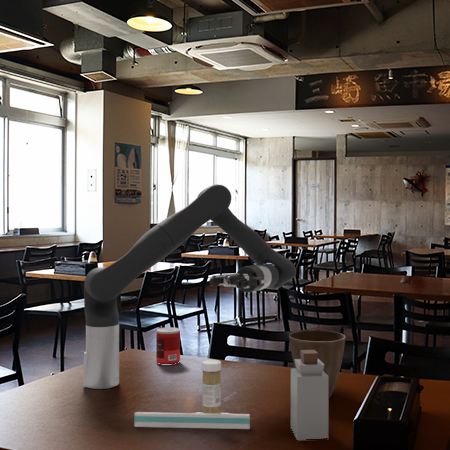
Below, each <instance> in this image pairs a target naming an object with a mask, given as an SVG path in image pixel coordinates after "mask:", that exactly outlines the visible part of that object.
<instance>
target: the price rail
mask: <svg viewBox="0 0 450 450" xmlns="http://www.w3.org/2000/svg"><path fill="white" fill-rule="evenodd" d="M250 416H251V414H250V413H230V412H221V414H220V413H203V411H202V412H200V411H199V412H161V411H160V412H159V411H158V412H156V411H153V412H152V411H150V412H149V411H135V412H134V421H133V422H134V427H135V428H137V427H138V428H172V429H173V428H179V429H182V428H183V429H184V428H185V429H188V428H189V429H228V430H229V429H232V430H233V429H237V430H250V429H251V425H250V423H251V422H250V421H251V420H250V419H251V418H250Z"/></svg>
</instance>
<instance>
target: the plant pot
mask: <svg viewBox="0 0 450 450" xmlns="http://www.w3.org/2000/svg"><path fill="white" fill-rule="evenodd" d="M288 338H289V345H290V351H291V352H290V353H291V357H292V360H293V365H294V368H296V364H295V360H294V359H301V354H300V350H315V351H316V352H317V353H318V359H319V360H320V361H321V362H322V363H323V364H324V369H323V371H324V372H325V373H326V374H327V375H328V399H330V398H331V397H332V395H333V393H334V390H335V388H336V385H337V383H338V382H337V381H338V378H339V374H340V370H341V367H342V362H343V356H344V351H345V346H346V345H345V343H346V335H345V334H343V333H340V332H336V331H330V330H317V329H309V330H299V331H294V332H291V333H289V334H288Z"/></svg>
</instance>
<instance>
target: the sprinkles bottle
mask: <svg viewBox="0 0 450 450" xmlns="http://www.w3.org/2000/svg"><path fill="white" fill-rule="evenodd" d="M201 370H202V383H201V384H202V385H201V386H202V390H201V392H202V393H201V395H202V396H201V404H202V412H203V413H220V414H221V413H222V411H221V410H222V409H221V406H222V383H221V381H222V379H221V377H222V375H221V371H222V361H221V360H218V359H213V358H211V359H205V360H203V361H202V362H201Z"/></svg>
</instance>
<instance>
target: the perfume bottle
mask: <svg viewBox="0 0 450 450" xmlns="http://www.w3.org/2000/svg"><path fill="white" fill-rule="evenodd" d="M300 354H301V359H294V360H295V364H296V368H295V367H294V368H290V430H291V429H292V430H291V431H293V432H292V433H294V434H293V435H294V437H295V439H296V440H298V441H307V440H306V439H321V438H322V439H323V438H328V439H329V398H328V375H327V374H326V373H325V372H324V371H323V369H324V364H323V363H322V362H321V361H320V360H319V359H318V353H317V352H316V351H315V350H300Z"/></svg>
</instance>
